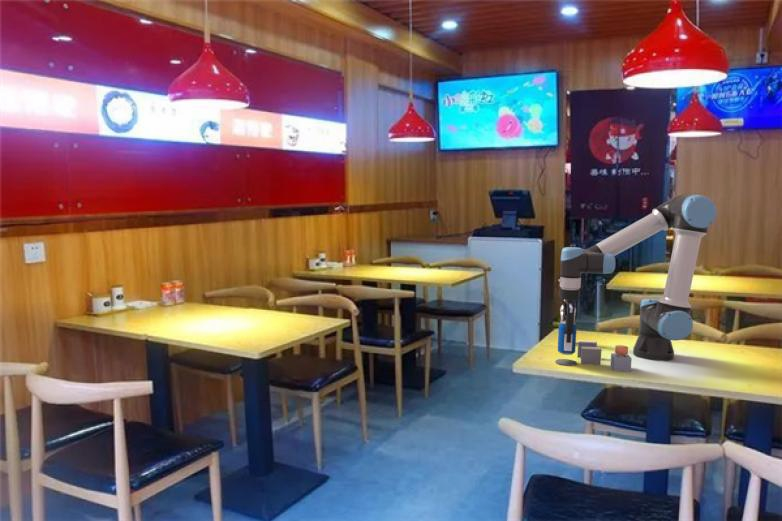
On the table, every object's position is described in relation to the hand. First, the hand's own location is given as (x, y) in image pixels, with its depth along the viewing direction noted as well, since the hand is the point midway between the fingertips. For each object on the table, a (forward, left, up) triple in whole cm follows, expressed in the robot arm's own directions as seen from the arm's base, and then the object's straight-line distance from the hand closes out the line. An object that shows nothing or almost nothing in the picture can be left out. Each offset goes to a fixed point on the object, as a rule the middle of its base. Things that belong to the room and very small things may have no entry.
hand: (566, 348), depth 233 cm
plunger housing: (-19, +4, -6) cm, 20 cm away
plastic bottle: (-4, -32, -6) cm, 33 cm away
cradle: (-9, -5, -6) cm, 12 cm away
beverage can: (0, 0, -2) cm, 2 cm away
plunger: (-19, +4, -5) cm, 20 cm away
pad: (0, 0, -6) cm, 6 cm away
